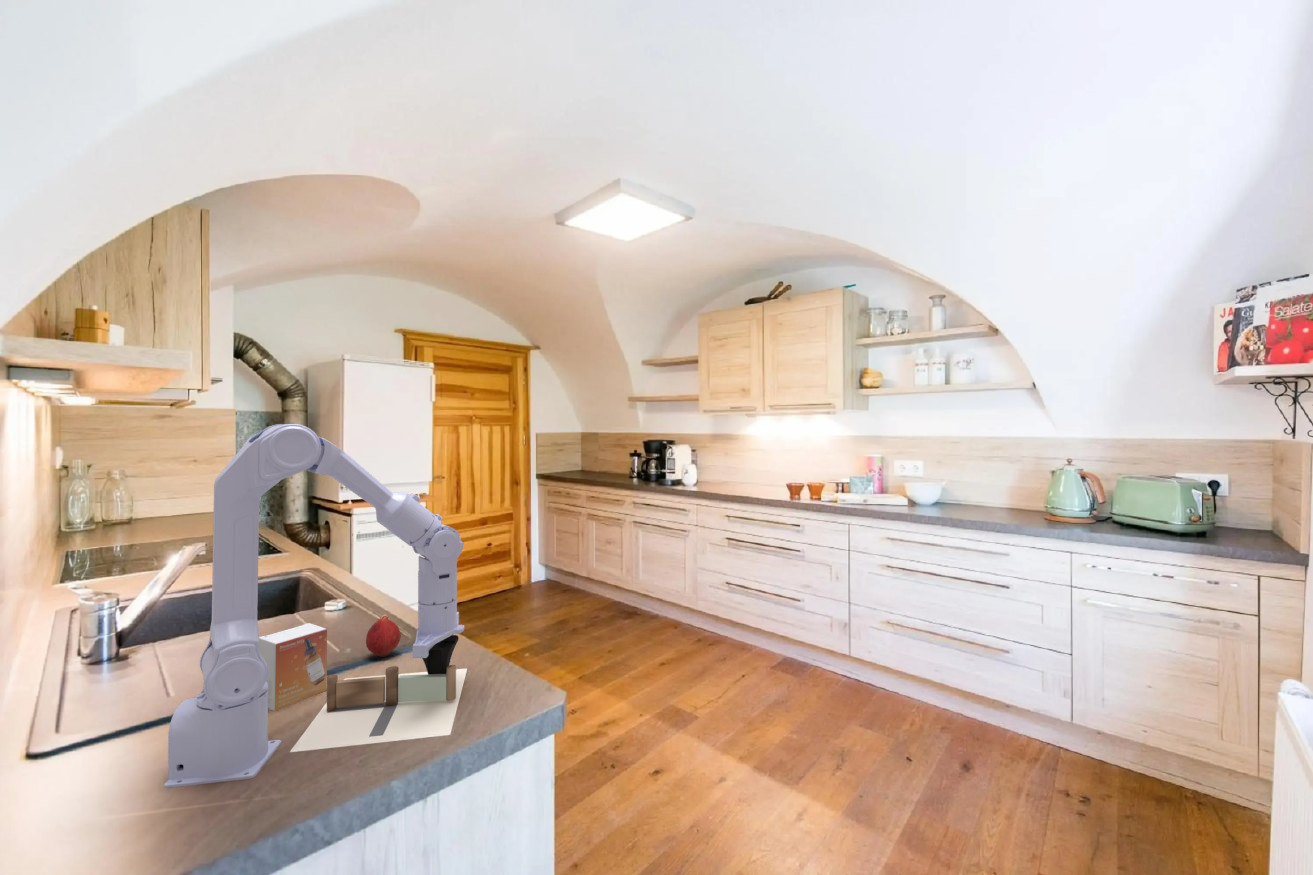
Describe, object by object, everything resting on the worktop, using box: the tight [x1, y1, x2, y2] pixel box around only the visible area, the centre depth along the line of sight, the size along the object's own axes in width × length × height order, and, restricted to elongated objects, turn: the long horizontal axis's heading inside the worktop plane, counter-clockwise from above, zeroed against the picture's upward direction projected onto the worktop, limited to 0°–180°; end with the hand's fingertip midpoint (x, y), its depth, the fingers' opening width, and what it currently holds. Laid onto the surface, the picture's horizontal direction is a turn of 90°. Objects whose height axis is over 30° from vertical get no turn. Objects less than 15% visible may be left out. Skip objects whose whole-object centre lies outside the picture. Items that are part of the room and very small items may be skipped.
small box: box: [259, 622, 328, 712], centre depth 88 cm, size 8×6×10 cm
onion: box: [365, 614, 402, 658], centre depth 104 cm, size 6×6×8 cm
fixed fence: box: [326, 665, 400, 712], centre depth 84 cm, size 10×2×6 cm, turn 103°
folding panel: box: [398, 664, 457, 702], centre depth 86 cm, size 8×1×5 cm, turn 96°
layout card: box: [289, 667, 468, 753], centre depth 85 cm, size 20×22×1 cm
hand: (437, 684), depth 87 cm, fingers closed
